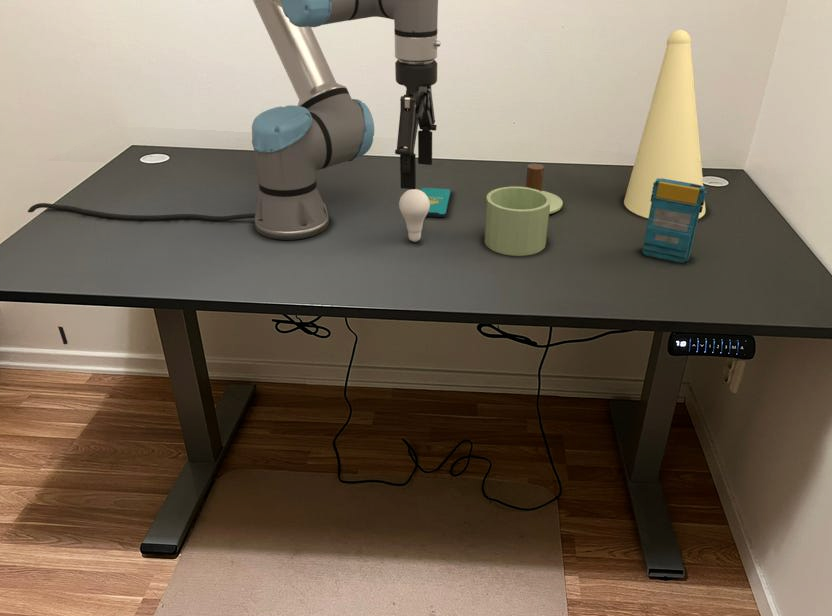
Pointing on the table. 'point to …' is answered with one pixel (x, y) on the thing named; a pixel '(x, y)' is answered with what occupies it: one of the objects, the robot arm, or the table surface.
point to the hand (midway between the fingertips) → (417, 175)
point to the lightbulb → (414, 211)
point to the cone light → (668, 130)
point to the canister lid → (535, 182)
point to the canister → (516, 220)
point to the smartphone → (437, 201)
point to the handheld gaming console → (673, 219)
